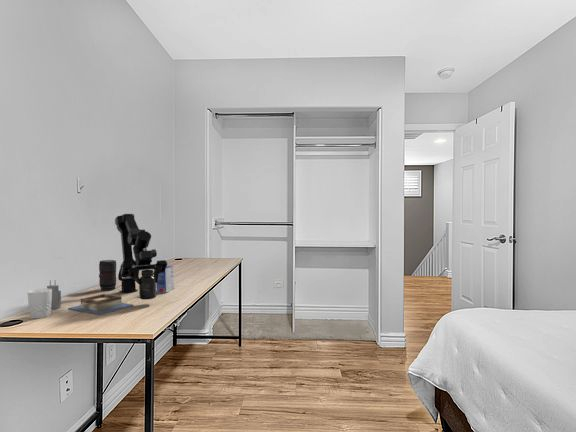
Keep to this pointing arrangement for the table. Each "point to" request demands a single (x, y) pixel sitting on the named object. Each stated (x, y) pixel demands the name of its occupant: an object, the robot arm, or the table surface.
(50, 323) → the table surface
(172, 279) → the ink cartridge box
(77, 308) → the board
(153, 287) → the supplement bottle
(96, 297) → the foundation socket
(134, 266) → the robot arm
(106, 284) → the camera lens
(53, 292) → the power adapter
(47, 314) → the white cup
